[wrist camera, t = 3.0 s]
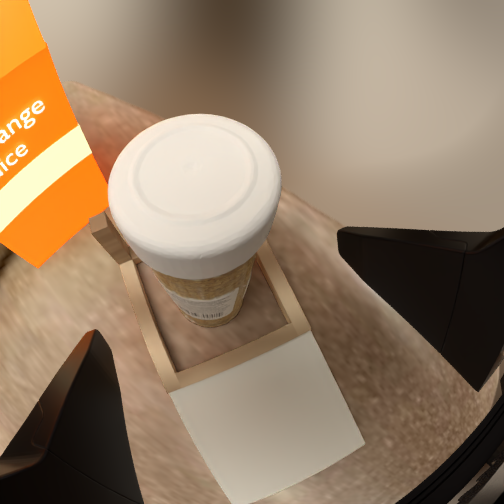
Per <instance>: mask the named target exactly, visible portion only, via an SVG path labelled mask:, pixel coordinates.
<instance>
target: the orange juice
mask: <svg viewBox="0 0 504 504" xmlns="http://www.w3.org/2000/svg"><path fill="white" fill-rule="evenodd" d="M108 206H109V202H108V185H107V183H106V181H105V179H104V177H103V175H102V173H101V171H100V169H99V167H98V165H97V163H96V161H95V159H94V157H93V155H92V151H91V149H90V147H89V145H88V143H87V141H86V139H85V137H84V134H83V132H82V130H81V128H80V126H79V124H78V123H77V121H76V119H75V116H74V114H73V112H72V109H71V107H70V105H69V102H68V100H67V97H66V95H65V93H64V90H63V88H62V85H61V82H60V80H59V77H58V75H57V72H56V69H55V67H54V64H53V61H52V58H51V56H50V53H49V50H48V46H47V43H46V42H44V40H43V38H42V35H41V33H40V31H39V28H38V25H37V23H36V21H35V18H34V15H33V13H32V10H31V7H30V4H29V2H28V0H0V242H1V243H2V244H4V245H5V246H6V247H8V248H9V249H10V250H12V251H13V252H15V253H16V254H18V255H19V256H20V257H22V258H23V259H25V260H26V261H28V262H29V263H31V264H32V265H34V266H35V267H37V268H39V267H40V266H41V265H42V264H43V263H44V262H45V261H46V260H47V259H48V258H49V257H50V256H51V255H52V254H54V253H55V252H56V251H57V250H58V249H59V248H60V247H61V246H62V245H63V244H64V243H66V242H67V241H68V240H69V239H70V238H71V237H72V236H73V235H75V234H76V233H77V232H78V231H79V230H80V229H81V228H83V227H84V226H85V225H86V224H87V223H89V219H88V218H90V217H93V216H95V215H97V214H99V213H101V212H102V211H103V210H104V209H106V208H107V207H108Z"/></svg>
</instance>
